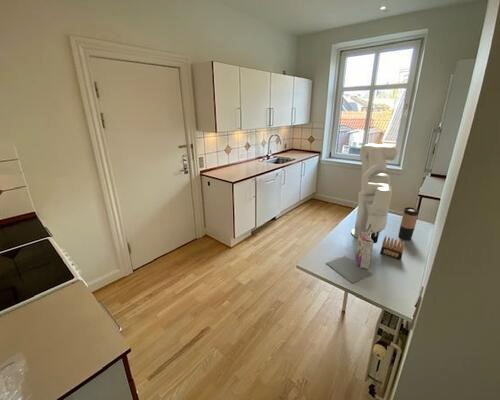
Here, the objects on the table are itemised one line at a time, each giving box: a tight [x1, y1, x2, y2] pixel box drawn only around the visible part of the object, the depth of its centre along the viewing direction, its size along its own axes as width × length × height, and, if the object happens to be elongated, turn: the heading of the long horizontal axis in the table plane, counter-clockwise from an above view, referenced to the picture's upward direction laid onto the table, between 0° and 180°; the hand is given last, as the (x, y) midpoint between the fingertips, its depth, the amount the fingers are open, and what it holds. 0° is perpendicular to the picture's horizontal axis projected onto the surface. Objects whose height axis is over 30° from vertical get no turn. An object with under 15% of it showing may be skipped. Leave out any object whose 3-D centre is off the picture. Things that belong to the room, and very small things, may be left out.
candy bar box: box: [355, 232, 374, 270], centre depth 130 cm, size 11×5×16 cm, turn 169°
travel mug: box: [398, 207, 420, 241], centre depth 153 cm, size 8×8×20 cm
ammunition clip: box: [379, 235, 405, 261], centre depth 136 cm, size 11×2×12 cm, turn 51°
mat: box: [326, 255, 373, 285], centre depth 128 cm, size 14×18×1 cm
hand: (373, 241), depth 130 cm, fingers closed
